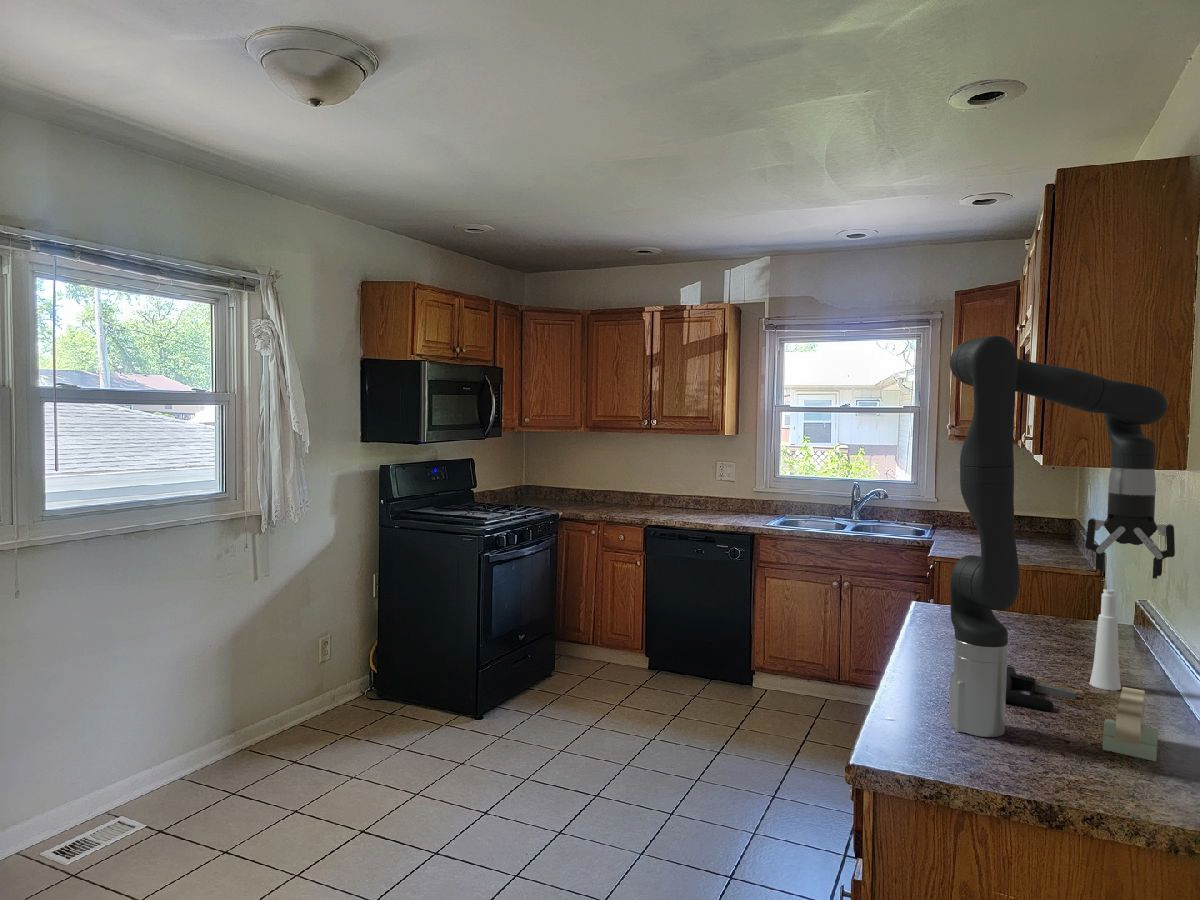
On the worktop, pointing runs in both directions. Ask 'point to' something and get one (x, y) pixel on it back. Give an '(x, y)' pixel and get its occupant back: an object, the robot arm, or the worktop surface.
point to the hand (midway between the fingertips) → (1128, 575)
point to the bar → (1130, 716)
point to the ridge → (1143, 750)
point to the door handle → (1032, 691)
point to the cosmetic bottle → (1106, 646)
